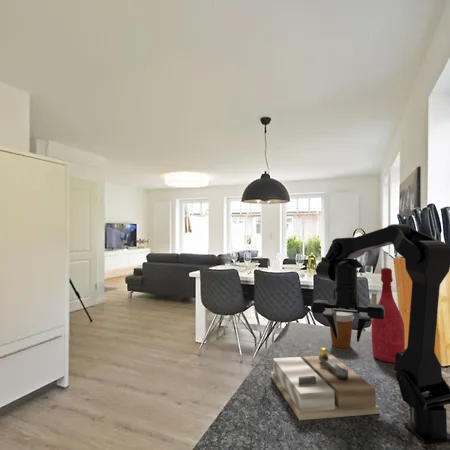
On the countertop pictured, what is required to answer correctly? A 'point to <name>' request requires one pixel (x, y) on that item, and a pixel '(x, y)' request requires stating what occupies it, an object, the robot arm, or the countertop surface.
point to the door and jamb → (322, 389)
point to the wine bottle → (388, 324)
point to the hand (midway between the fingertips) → (347, 340)
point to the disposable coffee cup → (343, 329)
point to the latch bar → (332, 364)
